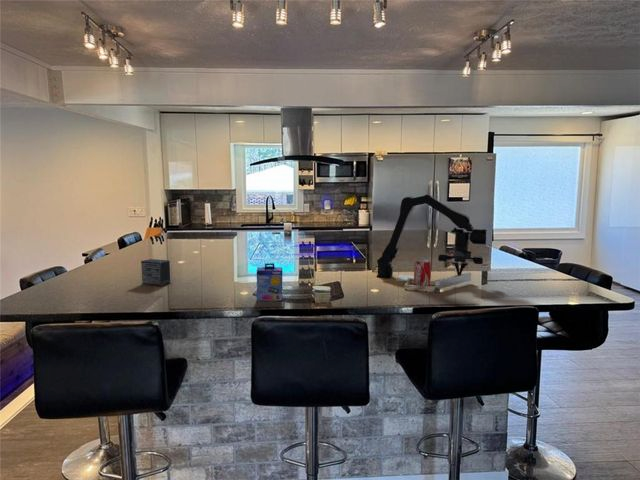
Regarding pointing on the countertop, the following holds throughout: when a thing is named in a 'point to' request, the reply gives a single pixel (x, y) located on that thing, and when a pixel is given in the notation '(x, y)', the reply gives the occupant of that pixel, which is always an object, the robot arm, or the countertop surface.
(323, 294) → the stacked layers on plate
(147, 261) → the small box
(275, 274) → the ink cartridge box
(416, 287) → the frame
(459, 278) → the latch bar
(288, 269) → the countertop surface
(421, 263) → the soda can
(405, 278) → the pad
